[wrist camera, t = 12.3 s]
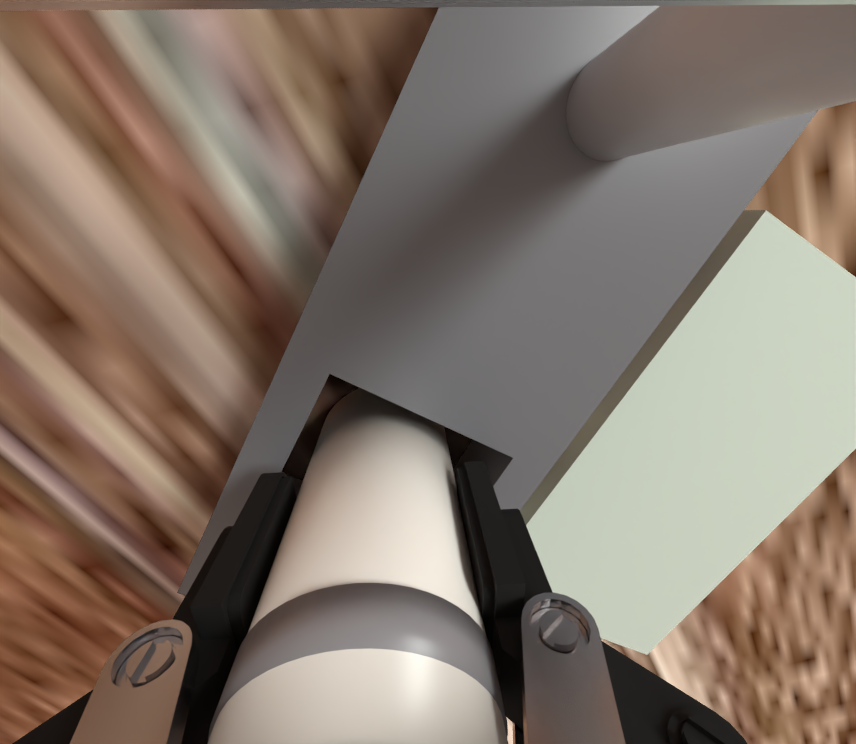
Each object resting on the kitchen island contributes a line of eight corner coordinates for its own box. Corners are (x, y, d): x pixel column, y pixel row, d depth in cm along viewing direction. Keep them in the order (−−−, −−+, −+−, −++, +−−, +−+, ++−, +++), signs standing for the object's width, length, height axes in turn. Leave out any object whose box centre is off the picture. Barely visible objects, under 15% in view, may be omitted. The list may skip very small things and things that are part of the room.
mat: (738, 210, 12) (766, 210, 12) (918, 341, 14) (954, 350, 14) (470, 572, 17) (474, 592, 16) (635, 633, 19) (647, 654, 18)
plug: (353, 361, 13) (247, 693, 4) (469, 416, 14) (594, 783, 5) (300, 465, 15) (129, 894, 5) (410, 509, 16) (424, 935, 6)
